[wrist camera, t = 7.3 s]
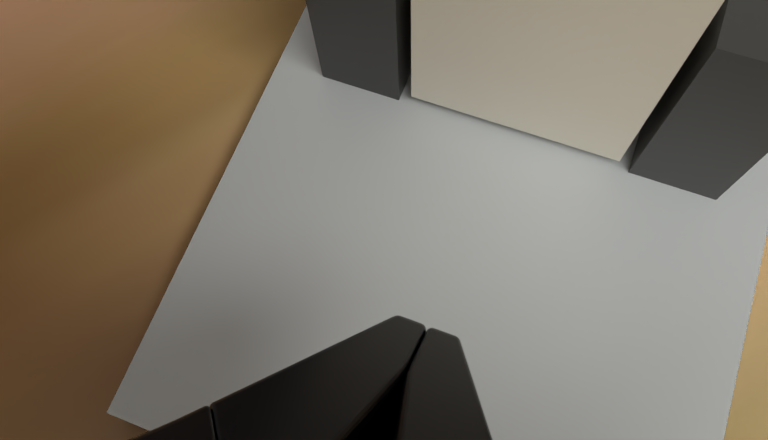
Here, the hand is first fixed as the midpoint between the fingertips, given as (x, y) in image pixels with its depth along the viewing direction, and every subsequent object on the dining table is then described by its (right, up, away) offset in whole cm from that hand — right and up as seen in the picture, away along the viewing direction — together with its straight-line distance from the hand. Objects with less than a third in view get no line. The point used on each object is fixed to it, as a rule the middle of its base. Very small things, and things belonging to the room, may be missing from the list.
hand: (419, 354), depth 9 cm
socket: (+3, +4, +9) cm, 10 cm away
